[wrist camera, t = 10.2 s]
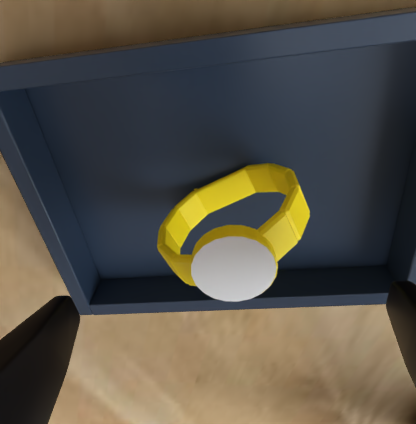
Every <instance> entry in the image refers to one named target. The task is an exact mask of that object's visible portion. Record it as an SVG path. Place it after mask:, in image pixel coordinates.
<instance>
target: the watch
mask: <svg viewBox="0 0 416 424" xmlns="http://www.w3.org/2000/svg"><path fill="white" fill-rule="evenodd" d="M256 192H280V193H282V194H284V195H287V196H286V198H285V200H284V202H283V204H282V206H281V208H280V210H279V211H278V212H277V213H276V214H275V215H273V216H272V217H271V218H270V219H269V220H268V221H266V222H265V223H264V224H263V225H262V226H261V227H259V228H258V229H257V230H256V229H254V228H251V227H247V226H244V225H226V226H222V227H218V228H215V229H213V230H211V231H209V232H207V233H206V234H204V235H203V236H202V237H201V238H200V239H199V241H198V242H197V243H196V244H195V247H194V249H193V252H192V255H180V248H181V246H182V245H183V243H184V241H185V239H186V238H187V236H188V234H189V232H190V230H192V229H193V228H194V227H195V226H196V225H197V224H198V223H199V222H200V221H201V220H202V219H203V218H205V217H206V216H207V215H208V214H209V213H212V212H214V211H216V210H218V209H221V208H223V207H225V206H227V205H229V204H232V203H234V202H236V201H238V200H241V199H243V198H245V197H247V196H250V195H252V194H254V193H256ZM309 213H310V210H309V208H308V205H307V203H306V200H305V198H304V195H303V193H302V190H301V188H300V185H299V183H298V180H297V178H296V175H295V173H294V171H292V169H289V168H286V167H283V166H280V165H277V164H274V163H272V164H271V163H265V164H255V165H247V166H246V167H244V168H242V169H240V170H237V171H235V172H233V173H231V174H229V175H227V176H225V177H223V178H220V179H218V180H216V181H214V182H212V183H210V184H208V185H205V186H203V187H201V188H199V189H197V188H196V189H194V191H192V192H191V193H189V194H188V195H187V196H186V197H185V198H184V199H183V200H181V201H180V202H179V203H178V204H177V205H176V206H175V207H174V209H172V210H171V211H170V213H169V214H168V216H167V217H166V219H165V220H164V222H163V223H162V225H161V226H160V229H159V232H158V241H157V248H158V251H159V252H160V254H161V255H162V257H163V258H164V259H165V261H166V262H167V263H168V265H169V266H170V268H171V269H172V270H173V272H174V273H175V274H176V275H177V276H178V277H179V278H180V279H181V280H182V281H183V282H185V283H186V284H189V285H191V286H197V287H198V288H199V289H200V290H201V291H202V292H203V293H205V294H207V295H208V296H210V297H212V298H214V299H218V300H222V301H232V302H239V301H243V300H248V299H251V298H254V297H256V296H258V295H260V294H262V293H263V292H264V291H265V290H267V289H268V288H269V287H270V286H271V285H272V283H273V281H274V280H275V278H276V275H277V269H278V263H277V262H278V261H279V260H280V259H281V258H282V257H283V256H284V255H285V254H286V253H287V252H288V251H289V250H291V249H292V248H293V247H294V246H295V245H296V244H297V243H298V240H300V239H301V237H302V234H303V232H304V229H305V227H306V224H307V222H308V219H309V217H310V214H309Z"/></svg>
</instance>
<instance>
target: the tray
mask: <svg viewBox="0 0 416 424" xmlns="http://www.w3.org/2000/svg"><path fill="white" fill-rule="evenodd" d="M0 151H1V153H2V155H3V157H4V160H5V162H6V164H7V166H8V168H9V170H10V172H11V174H12V176H13V178H14V180H15V182H16V184H17V186H18V188H19V190H20V193H21V195H22V197H23V199H24V201H25V203H26V205H27V207H28V209H29V211H30V213H31V215H32V217H33V219H34V221H35V223H36V226H37V228H38V230H39V232H40V234H41V236H42V238H43V240H44V242H45V244H46V246H47V248H48V250H49V252H50V254H51V256H52V259H53V261H54V263H55V265H56V267H57V269H58V271H59V273H60V275H61V277H62V279H63V281H64V283H65V285H66V287H67V290H68V292H69V294H70V296H71V298H72V300H73V302H74V304H75V306H76V308H77V310H78V312H79V314H80V315H92V314H93V315H105V314H132V313H159V312H186V311H213V310H240V309H267V308H294V307H320V306H347V305H374V304H386V301H387V297H388V293H389V289H390V285H391V283H392V282H393V281H403V280H408V281H411V282H413V283H414V284H416V7H410V8H403V9H396V10H388V11H381V12H373V13H366V14H358V15H351V16H343V17H336V18H328V19H321V20H313V21H306V22H299V23H291V24H284V25H276V26H269V27H261V28H254V29H246V30H239V31H231V32H224V33H217V34H209V35H202V36H194V37H187V38H179V39H172V40H164V41H157V42H149V43H142V44H134V45H127V46H120V47H112V48H105V49H97V50H90V51H82V52H75V53H67V54H60V55H52V56H45V57H37V58H30V59H23V60H15V61H8V62H2V63H0ZM265 163H271V164H272V163H274V164H277V165H280V166H283V167H286V168H289V169H292V171H294V173H295V175H296V178H297V180H298V183H299V185H300V188H301V190H302V193H303V195H304V198H305V200H306V203H307V205H308V208H309V210H310V213H309V214H310V217H309V219H308V222H307V224H306V227H305V229H304V232H303V234H302V237H301V239H300V240H298V243H297V244H296V245H295V246H294V247H293V248H292V249H291V250H289V251H288V252H287V253H286V254H285V255H284V256H283V257H282V258H281V259H280V260H279V261H278V262H277V263H278V269H277V275H276V278H275V280H274V281H273V283H272V285H271V286H270V287H269V288H268V289H267V290H265V291H264V292H263V293H262V294H260V295H258V296H256V297H254V298H251V299H248V300H243V301H239V302H232V301H222V300H218V299H214V298H212V297H210V296H208V295H207V294H205V293H203V292H202V291H201V290H200V289H199V288H198V287H197V286H191V285H189V284H186V283H185V282H183V281H182V280H181V279H180V278H179V277H178V276H177V275H176V274H175V273H174V272H173V270H172V269H171V268H170V266H169V265H168V263H167V262H166V261H165V259H164V258H163V257H162V255H161V254H160V252H159V251H158V248H157V241H158V232H159V229H160V226H161V225H162V223H163V222H164V220H165V219H166V217H167V216H168V214H169V213H170V211H171V210H172V209H174V207H175V206H176V205H177V204H178V203H179V202H180V201H181V200H183V199H184V198H185V197H186V196H187V195H188V194H189V193H191V192H192V191H194V189H196V188H197V189H199V188H201V187H203V186H205V185H208V184H210V183H212V182H214V181H216V180H218V179H220V178H223V177H225V176H227V175H229V174H231V173H233V172H235V171H237V170H240V169H242V168H244V167H246V166H247V165H255V164H265ZM286 196H287V195H284V194H282V193H280V192H256V193H254V194H252V195H250V196H247V197H245V198H243V199H241V200H238V201H236V202H234V203H232V204H229V205H227V206H225V207H223V208H221V209H218V210H216V211H214V212H212V213H209V214H208V215H207V216H206V217H205V218H203V219H202V220H201V221H200V222H199V223H198V224H197V225H196V226H195V227H194V228H193V229H192V230H190V232H189V234H188V236H187V238H186V239H185V241H184V243H183V245H182V246H181V248H180V255H192V252H193V249H194V247H195V244H196V243H197V242H198V241H199V239H200V238H201V237H202V236H203V235H204V234H206V233H207V232H209V231H211V230H213V229H215V228H218V227H222V226H226V225H244V226H247V227H251V228H254V229H256V230H257V229H258V228H259V227H261V226H262V225H263V224H264V223H265V222H266V221H268V220H269V219H270V218H271V217H272V216H273V215H275V214H276V213H277V212H278V211H279V210H280V208H281V206H282V204H283V202H284V200H285V198H286Z"/></svg>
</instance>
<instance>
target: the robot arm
mask: <svg viewBox="0 0 416 424" xmlns="http://www.w3.org/2000/svg"><path fill="white" fill-rule="evenodd" d="M386 309H387V312H388V315H389V318H390V321H391V324H392V327H393V330H394V333H395V336H396V339H397V342H398V345H399V348H400V350H401V353H402V356H403V359H404V362H405V365H406V367H407V369H408V372H409V374H410V376H411V378H412V381H413V383H414V385H415V387H416V284H414V283H413V282H411V281H408V280H403V281H393V282H392V283H391V285H390V289H389V293H388V297H387V301H386ZM79 323H80V315H79V312H78V310H77V308H76V306H75V304H74V302H73V300H72V298H71V297H70V296H56V297H54V298H53V299H51V300H50V301H49V302H48V303H46V304H45V305H44V306H43V307H41V308H40V309H39V310H37V311H36V312H35V313H34V314H32V315H31V316H30V317H29V318H27V319H26V320H25V321H24V322H22V323H21V324H20V325H18V326H17V327H16V328H15V329H13V330H12V331H11V332H10V333H8V334H7V335H6V336H5V337H3V338H2V339H1V340H0V424H48V422H49V419H50V416H51V414H52V411H53V408H54V405H55V403H56V400H57V397H58V395H59V392H60V389H61V386H62V384H63V381H64V378H65V375H66V372H67V369H68V365H69V362H70V358H71V354H72V350H73V346H74V342H75V339H76V335H77V331H78V327H79Z"/></svg>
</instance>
